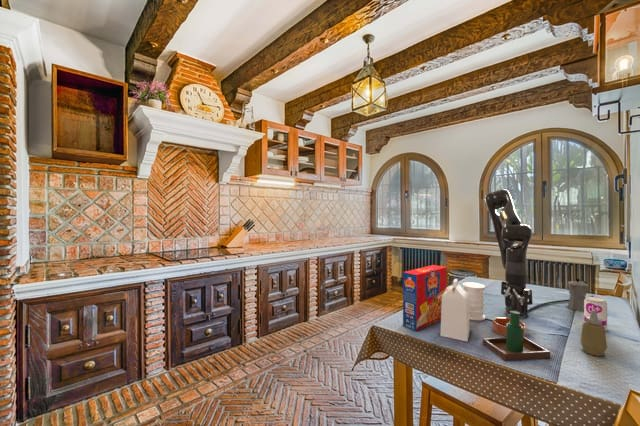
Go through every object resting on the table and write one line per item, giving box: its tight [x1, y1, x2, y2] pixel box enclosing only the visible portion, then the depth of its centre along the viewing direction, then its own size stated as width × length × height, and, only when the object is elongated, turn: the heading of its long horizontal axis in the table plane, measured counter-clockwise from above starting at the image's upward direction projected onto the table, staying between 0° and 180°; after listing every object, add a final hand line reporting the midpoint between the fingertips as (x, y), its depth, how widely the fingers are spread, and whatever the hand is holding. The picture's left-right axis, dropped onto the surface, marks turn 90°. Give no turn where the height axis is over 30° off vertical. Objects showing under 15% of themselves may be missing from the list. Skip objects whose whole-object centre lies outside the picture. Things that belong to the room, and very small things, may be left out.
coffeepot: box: [567, 278, 589, 312], centre depth 170 cm, size 15×9×18 cm, turn 113°
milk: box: [439, 278, 471, 342], centre depth 138 cm, size 12×12×26 cm
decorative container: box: [462, 281, 486, 321], centre depth 157 cm, size 12×12×18 cm
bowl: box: [492, 316, 527, 338], centre depth 138 cm, size 13×13×5 cm
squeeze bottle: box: [580, 310, 608, 357], centre depth 119 cm, size 8×8×18 cm
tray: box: [482, 336, 551, 361], centre depth 121 cm, size 20×14×3 cm
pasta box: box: [402, 264, 448, 332], centre depth 152 cm, size 28×8×28 cm, turn 127°
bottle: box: [505, 311, 523, 353], centre depth 121 cm, size 6×6×16 cm
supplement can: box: [583, 296, 608, 331], centre depth 142 cm, size 8×8×15 cm
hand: (515, 309), depth 121 cm, fingers open, 8 cm apart
